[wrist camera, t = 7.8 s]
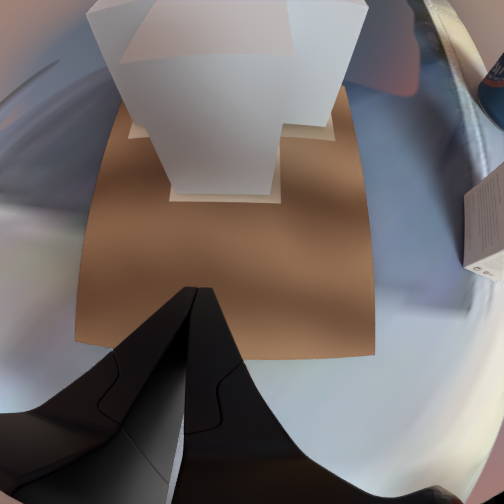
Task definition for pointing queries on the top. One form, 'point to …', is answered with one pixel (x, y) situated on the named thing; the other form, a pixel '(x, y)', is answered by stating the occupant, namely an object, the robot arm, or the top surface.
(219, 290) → the brown board
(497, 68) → the soda can
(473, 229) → the skincare box
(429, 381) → the top surface
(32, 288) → the top surface
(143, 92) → the white block
